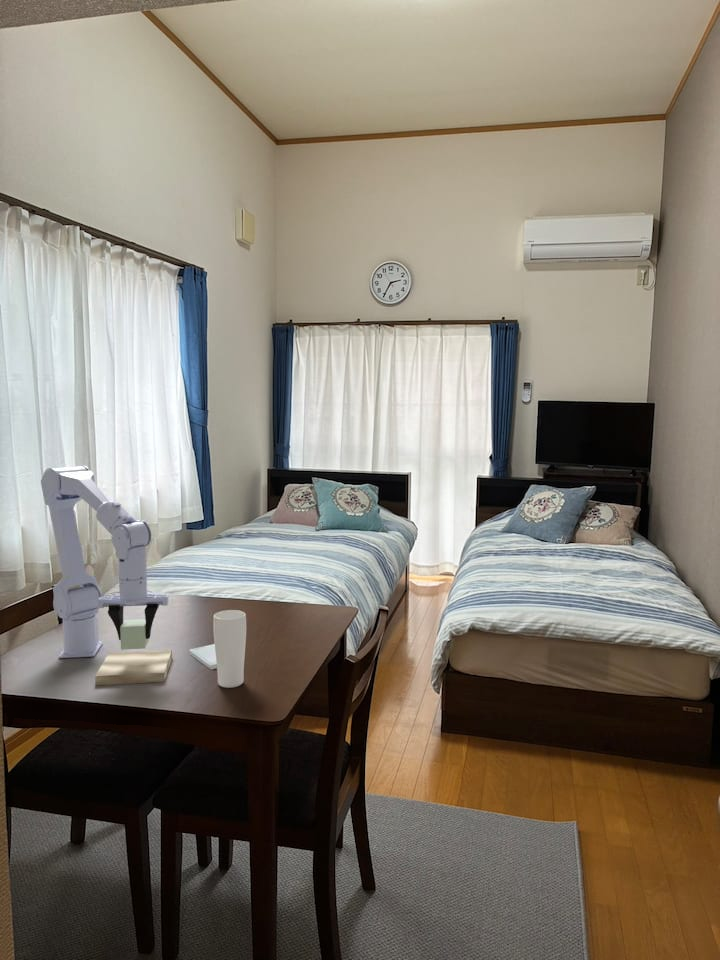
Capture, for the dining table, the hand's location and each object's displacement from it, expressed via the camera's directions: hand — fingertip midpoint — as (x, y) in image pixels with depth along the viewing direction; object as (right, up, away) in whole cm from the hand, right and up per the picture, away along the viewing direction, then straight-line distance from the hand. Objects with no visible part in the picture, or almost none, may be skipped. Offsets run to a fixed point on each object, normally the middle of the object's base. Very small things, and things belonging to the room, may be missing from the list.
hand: (134, 638), depth 153 cm
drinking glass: (+22, -9, -6) cm, 25 cm away
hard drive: (+16, -7, +9) cm, 20 cm away
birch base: (0, -8, +1) cm, 8 cm away
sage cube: (0, -2, 0) cm, 2 cm away
